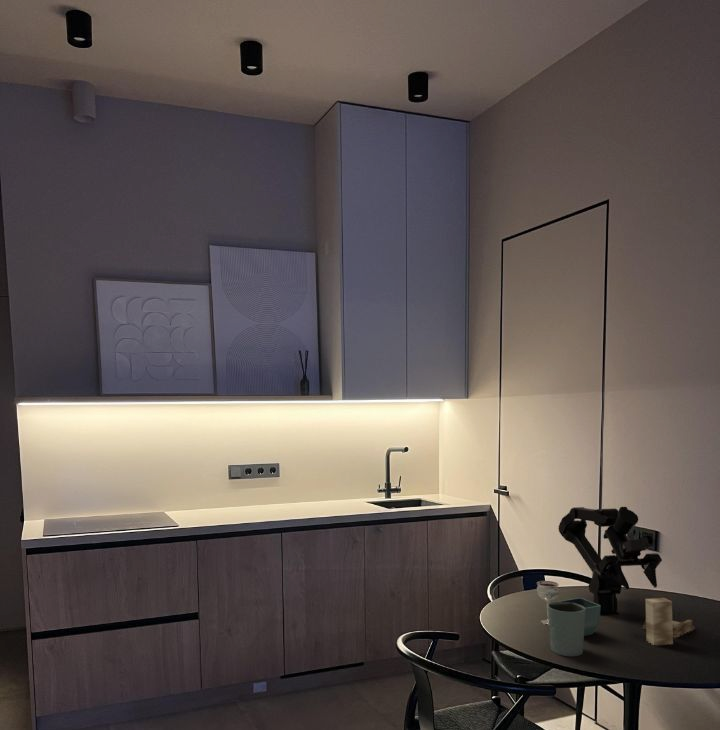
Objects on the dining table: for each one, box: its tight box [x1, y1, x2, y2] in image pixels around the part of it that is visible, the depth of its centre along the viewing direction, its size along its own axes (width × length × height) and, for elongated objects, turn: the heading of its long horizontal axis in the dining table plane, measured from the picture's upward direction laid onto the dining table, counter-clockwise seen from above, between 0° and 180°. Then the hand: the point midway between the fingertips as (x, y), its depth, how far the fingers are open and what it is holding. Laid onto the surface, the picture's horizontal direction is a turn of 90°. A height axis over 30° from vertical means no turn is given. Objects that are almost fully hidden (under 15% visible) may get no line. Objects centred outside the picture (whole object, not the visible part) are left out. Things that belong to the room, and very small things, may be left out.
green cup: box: [546, 601, 585, 657], centre depth 185 cm, size 10×10×12 cm
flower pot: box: [558, 597, 601, 637], centre depth 198 cm, size 9×9×9 cm
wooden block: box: [645, 597, 674, 646], centre depth 190 cm, size 6×4×12 cm, turn 101°
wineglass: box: [536, 580, 560, 626], centre depth 208 cm, size 7×7×12 cm
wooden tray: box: [642, 619, 696, 639], centre depth 201 cm, size 12×10×2 cm
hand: (642, 587), depth 199 cm, fingers open, 9 cm apart
